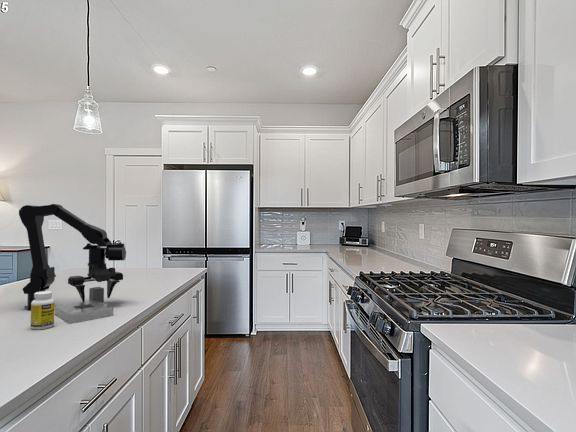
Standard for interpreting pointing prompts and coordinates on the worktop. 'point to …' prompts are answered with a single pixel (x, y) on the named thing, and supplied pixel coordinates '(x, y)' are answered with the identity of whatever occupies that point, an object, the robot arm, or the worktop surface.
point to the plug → (96, 294)
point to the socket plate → (83, 311)
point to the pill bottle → (42, 310)
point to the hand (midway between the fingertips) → (96, 300)
